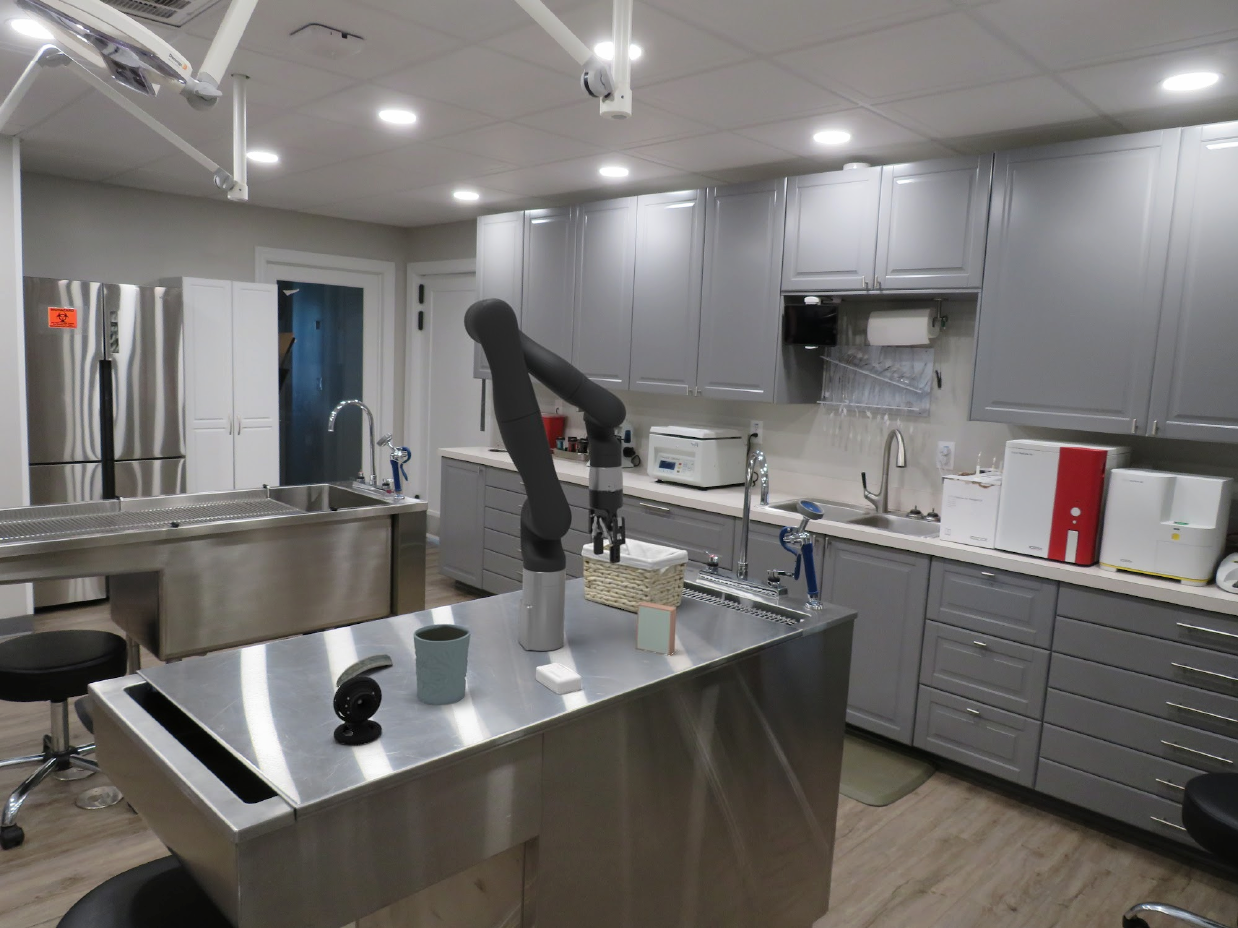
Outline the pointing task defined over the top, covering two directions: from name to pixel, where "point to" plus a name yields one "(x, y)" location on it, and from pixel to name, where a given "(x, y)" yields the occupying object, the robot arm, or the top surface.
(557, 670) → the soap
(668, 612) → the terracotta tile
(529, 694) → the top surface
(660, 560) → the storage basket
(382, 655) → the ceramic fragment
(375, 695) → the webcam
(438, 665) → the green ceramic cup
